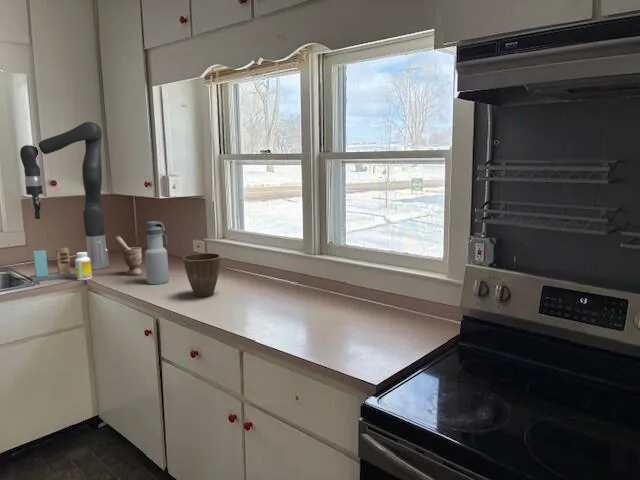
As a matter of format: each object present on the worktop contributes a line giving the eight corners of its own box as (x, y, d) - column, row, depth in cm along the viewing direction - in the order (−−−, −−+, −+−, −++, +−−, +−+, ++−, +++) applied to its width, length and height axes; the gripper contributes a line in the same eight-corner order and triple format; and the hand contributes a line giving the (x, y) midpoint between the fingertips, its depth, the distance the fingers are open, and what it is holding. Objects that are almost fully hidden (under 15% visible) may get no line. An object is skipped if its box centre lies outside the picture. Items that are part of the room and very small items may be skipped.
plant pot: (229, 294, 211) (227, 256, 208) (197, 301, 201) (194, 261, 198) (210, 288, 221) (208, 251, 219) (178, 295, 211) (176, 257, 209)
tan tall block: (69, 271, 255) (66, 247, 253) (71, 272, 252) (68, 248, 250) (58, 272, 252) (55, 248, 250) (59, 274, 249) (57, 249, 247)
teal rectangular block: (47, 274, 249) (44, 250, 247) (48, 275, 246) (45, 251, 244) (35, 275, 246) (32, 251, 244) (36, 277, 243) (33, 252, 241)
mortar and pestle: (125, 278, 244) (122, 237, 241) (115, 276, 249) (112, 235, 246) (147, 273, 253) (143, 233, 250) (137, 271, 258) (133, 232, 255)
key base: (72, 272, 259) (72, 270, 259) (77, 276, 251) (76, 273, 251) (30, 278, 248) (29, 275, 248) (33, 282, 240) (32, 279, 240)
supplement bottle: (94, 277, 248) (92, 251, 246) (87, 280, 241) (84, 253, 239) (81, 277, 248) (79, 251, 246) (73, 280, 242) (71, 254, 240)
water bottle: (156, 279, 241) (152, 220, 237) (174, 280, 238) (169, 220, 233) (142, 284, 232) (137, 222, 227) (160, 285, 228) (155, 223, 224)
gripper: (44, 185, 258) (48, 219, 261) (40, 184, 269) (43, 217, 271) (27, 185, 254) (31, 220, 256) (23, 185, 264) (27, 218, 267)
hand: (37, 218), depth 264 cm, fingers closed
